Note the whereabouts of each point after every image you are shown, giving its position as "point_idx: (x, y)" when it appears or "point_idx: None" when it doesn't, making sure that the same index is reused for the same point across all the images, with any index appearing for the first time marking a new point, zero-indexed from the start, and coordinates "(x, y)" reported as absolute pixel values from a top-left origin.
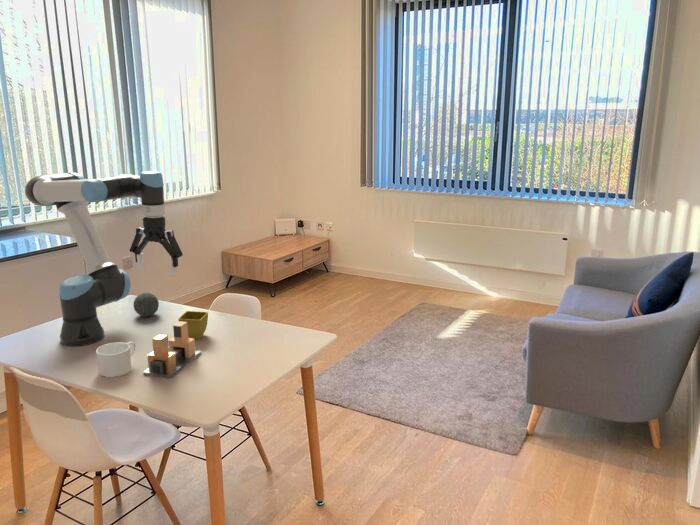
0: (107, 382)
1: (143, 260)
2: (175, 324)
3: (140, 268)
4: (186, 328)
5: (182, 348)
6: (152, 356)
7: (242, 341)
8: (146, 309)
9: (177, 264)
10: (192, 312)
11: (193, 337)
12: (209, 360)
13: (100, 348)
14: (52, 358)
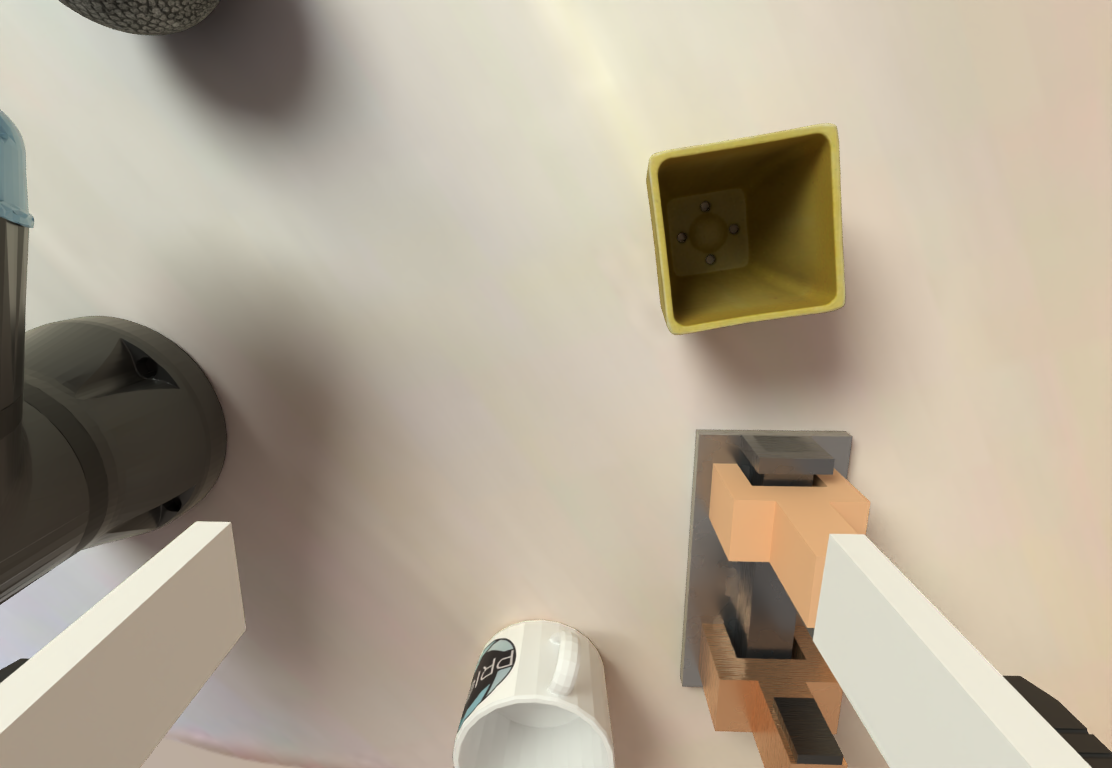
0: None
1: (101, 644)
2: (815, 613)
3: (211, 644)
4: None
5: None
6: (742, 728)
7: (1029, 208)
8: (192, 13)
9: (1068, 738)
10: (699, 154)
11: (728, 280)
12: (917, 488)
13: (462, 759)
14: None
